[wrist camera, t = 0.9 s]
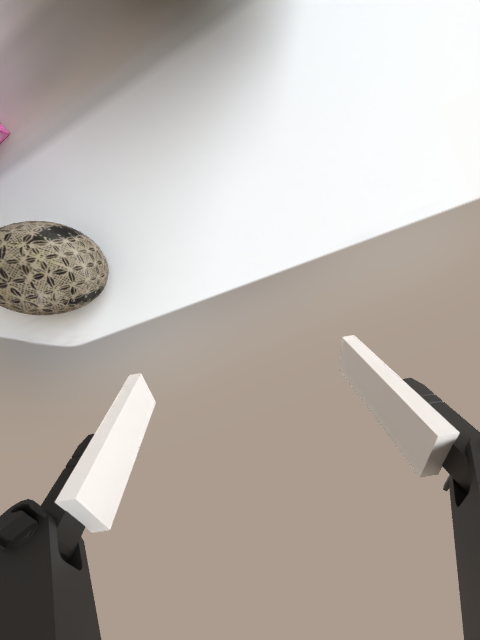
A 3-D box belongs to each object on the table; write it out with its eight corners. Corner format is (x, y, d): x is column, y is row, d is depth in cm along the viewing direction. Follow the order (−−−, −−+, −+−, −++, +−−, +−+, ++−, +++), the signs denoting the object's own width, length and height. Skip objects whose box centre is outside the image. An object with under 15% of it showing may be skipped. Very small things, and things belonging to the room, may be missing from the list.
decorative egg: (106, 305, 38) (42, 353, 24) (35, 267, 34) (-87, 299, 21) (134, 251, 34) (76, 273, 21) (58, 202, 30) (-73, 190, 17)
